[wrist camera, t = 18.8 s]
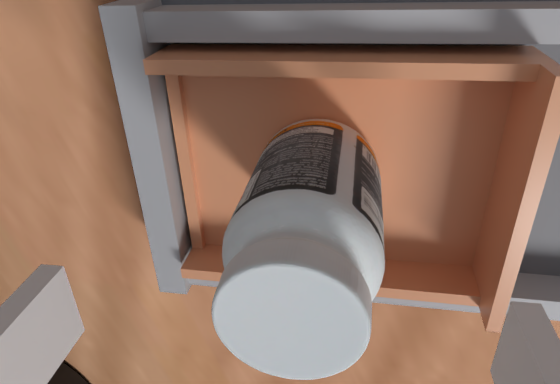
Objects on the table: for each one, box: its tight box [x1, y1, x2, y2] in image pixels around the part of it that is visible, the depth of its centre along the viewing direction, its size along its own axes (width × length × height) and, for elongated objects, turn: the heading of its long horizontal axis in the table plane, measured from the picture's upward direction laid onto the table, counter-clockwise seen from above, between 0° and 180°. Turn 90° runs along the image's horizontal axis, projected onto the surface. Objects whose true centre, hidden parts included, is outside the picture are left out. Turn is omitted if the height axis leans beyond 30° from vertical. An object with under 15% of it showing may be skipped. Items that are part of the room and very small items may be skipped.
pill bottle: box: [212, 119, 385, 380], centre depth 17 cm, size 6×6×10 cm
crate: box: [143, 44, 560, 333], centre depth 20 cm, size 15×11×4 cm
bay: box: [98, 0, 560, 321], centre depth 21 cm, size 30×15×4 cm, turn 92°
